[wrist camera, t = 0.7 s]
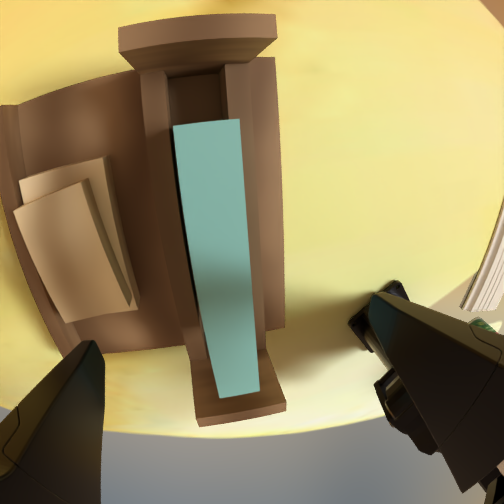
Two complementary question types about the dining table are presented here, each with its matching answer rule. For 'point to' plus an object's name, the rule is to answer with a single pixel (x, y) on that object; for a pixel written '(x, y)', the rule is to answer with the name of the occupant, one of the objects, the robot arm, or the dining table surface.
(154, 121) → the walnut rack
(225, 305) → the teal sheet
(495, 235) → the baseboard molding
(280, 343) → the dining table surface
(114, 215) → the board
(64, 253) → the upper offcut
